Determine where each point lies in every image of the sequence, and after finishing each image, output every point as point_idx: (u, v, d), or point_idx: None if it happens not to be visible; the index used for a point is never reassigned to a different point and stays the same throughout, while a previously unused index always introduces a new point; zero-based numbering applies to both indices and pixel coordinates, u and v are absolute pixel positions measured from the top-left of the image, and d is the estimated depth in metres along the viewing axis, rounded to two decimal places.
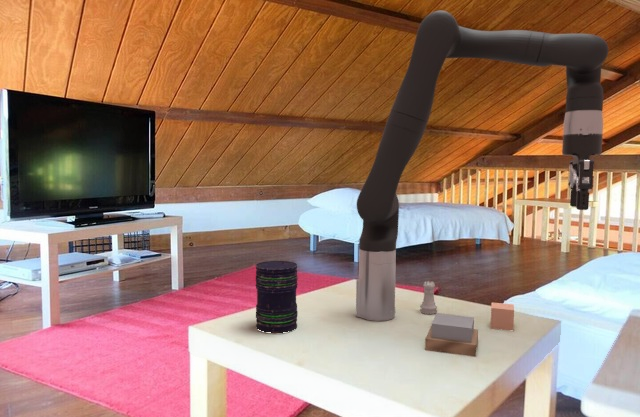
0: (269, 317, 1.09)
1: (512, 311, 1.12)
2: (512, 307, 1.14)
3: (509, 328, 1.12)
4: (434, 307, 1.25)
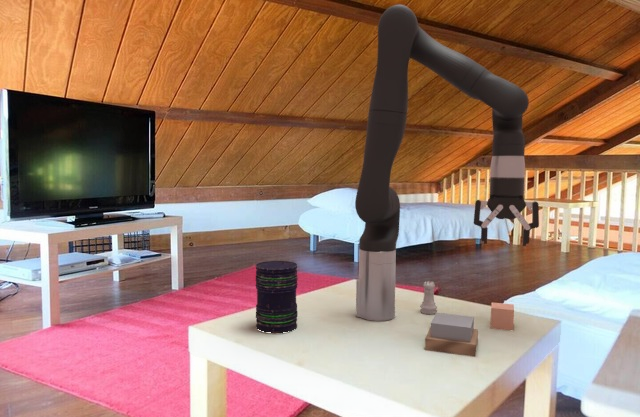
0: (269, 317, 1.09)
1: (512, 311, 1.12)
2: (512, 307, 1.14)
3: (509, 328, 1.12)
4: (434, 307, 1.25)
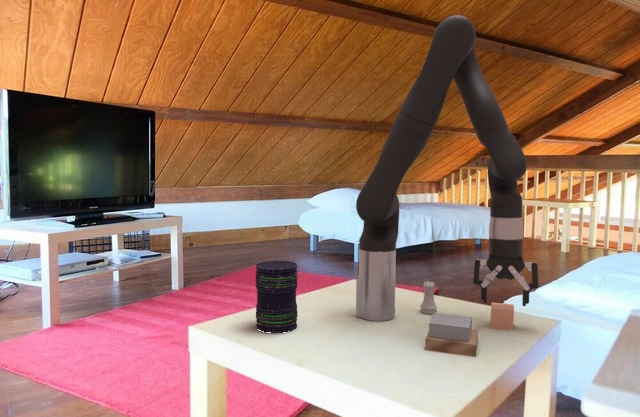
0: (269, 317, 1.09)
1: (512, 311, 1.12)
2: (512, 307, 1.14)
3: (509, 328, 1.12)
4: (434, 307, 1.25)
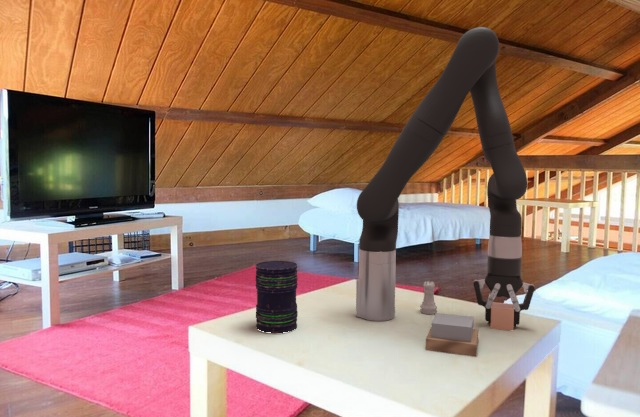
0: (269, 317, 1.09)
1: (512, 311, 1.12)
2: (512, 307, 1.14)
3: (509, 327, 1.12)
4: (434, 307, 1.25)
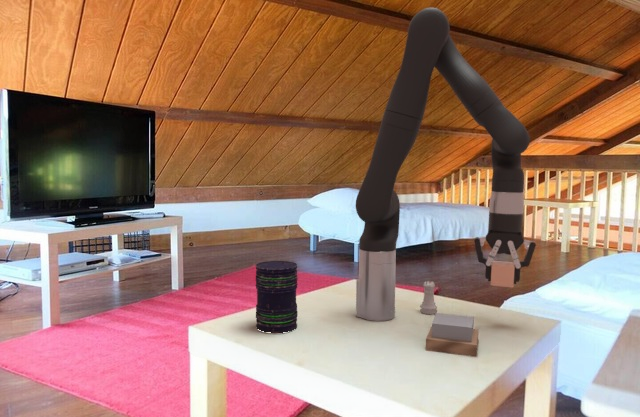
0: (269, 317, 1.09)
1: (513, 267, 1.11)
2: (512, 264, 1.14)
3: (509, 284, 1.12)
4: (434, 307, 1.25)
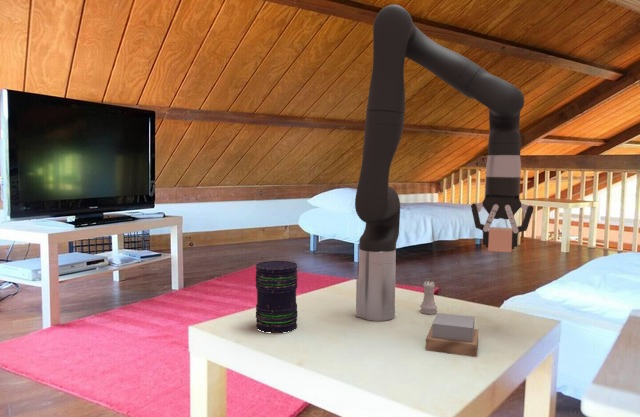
0: (269, 317, 1.09)
1: (510, 232, 1.10)
2: (510, 229, 1.12)
3: (507, 249, 1.10)
4: (434, 307, 1.25)
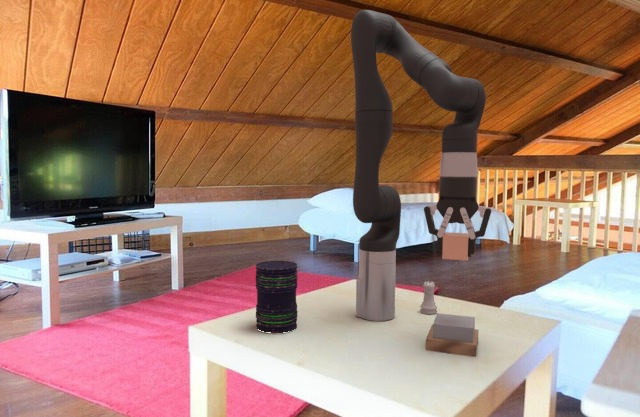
0: (269, 317, 1.09)
1: (466, 237, 0.98)
2: (467, 234, 1.00)
3: (462, 257, 0.99)
4: (434, 307, 1.25)
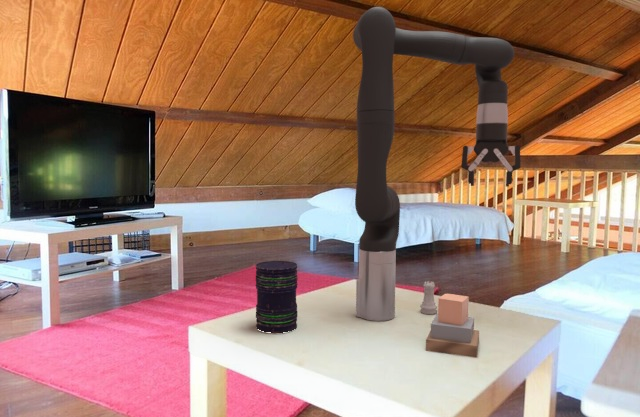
0: (269, 317, 1.09)
1: (460, 303, 0.99)
2: (463, 299, 1.01)
3: (457, 321, 1.00)
4: (434, 307, 1.25)
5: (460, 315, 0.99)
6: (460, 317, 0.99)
